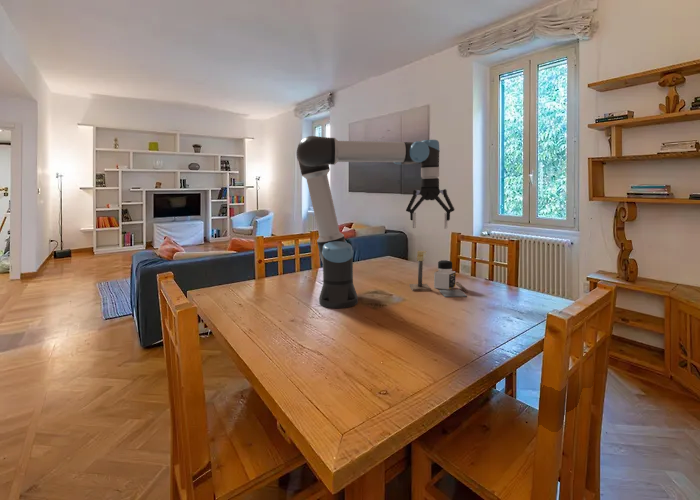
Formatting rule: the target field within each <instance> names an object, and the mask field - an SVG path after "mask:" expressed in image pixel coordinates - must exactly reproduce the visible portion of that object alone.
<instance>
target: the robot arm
mask: <svg viewBox="0 0 700 500" xmlns="http://www.w3.org/2000/svg"><path fill="white" fill-rule="evenodd" d="M440 150H441V149H440V142H439V140H437V139H424V140H423V139H422V140H421V141H419V140H418V141H417V140H416V141H405V142H404V141H374V140H373V141H369V140H368V141H367V140H366V141H364V140H338V139H337V138H336V137H324V136H317V135H309V136H306V137H304V138H302V139H301V140H300V141H299V143H298V144H297V148H296V159H297V162H298V165H299V169H300V174H301V176H302V177H303V178H305V179H306V183H307V187H308V191H309V192H308V193H309V196H310V200H311V206H312V209H313V213H314V219H315V223H316V227H317V231H318V235H319V236H318V238H317V239H316V242H317V248H318V252H319V255H318V256H319V259H320V261H321V263H322V281H323V282H322V286H321V290H320V293H319V298H318V299H319V303H318V304H319V305H320V306H322V307H324V308H330V309H344V308H345V309H346V308H350V307H354V306H355V305H357V304H358V294H357V290H356V288H355V286H354V260H353V259H354V258H353V257H354V250H353V246H352V244H350V243H349V242H346V239H345V234H343V233H342V232H340V227H339V222H338V218H337V214H336V209H335V205H334V200H333V196H332V191H331V186H330V182H329V177H328V174H329V172H330V171H331V168H330V165H332V166H333V165H334V166H335V165H336V164H337V163H393V164H394V165H401V166H402V165H416V164H417V165H420V178H421V179H420V190H419V189H414V190H413V192H412V196H411V199H410V201H409V203H408V205H407V207H406V209H405V211H406V212H408V213H410V216H409V217H410V219H409V220H411V221H412V229H415V228H416V227H417V226H416V225H417V222H416V221H417V217H416V216H417V214H416V210H417V209H418V208H419V207H420V205H421V204H422V203H423V202H424V201H436V202H437V203H438V204H439V205H440V206H441V208H442V209H443V210H444V211H445V213H444V230H447V229H448V222H449V221H450V220H451V213H452V212H454V211H455V209H456V208H455V206H454V205H453V204H452V201H451V198H450V197H449V195H448V189H446V188H443V189H440V179H439V177H440ZM440 193H441V195H442V196H443V197H444V199H445V201H446V203H447V205H448V206H447V205H446V203H444V202H443V201H442V199H441V198H440V196H439V195H440ZM418 195H421V197H420V199H419V200H418V201H417V202H416V203H415V201H416V199H417V196H418ZM414 203H415V204H414ZM413 204H414V206H413Z"/></svg>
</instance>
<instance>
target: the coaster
mask: <svg viewBox="0 0 700 500" xmlns="http://www.w3.org/2000/svg"><path fill="white" fill-rule="evenodd" d="M439 292H440V294H441V295H442V296H443V297H445V298H467V297H468V295H467V294H466V292H464V291H463V290H462V289H450V290H447V289H439Z"/></svg>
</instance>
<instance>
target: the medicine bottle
mask: <svg viewBox="0 0 700 500" xmlns="http://www.w3.org/2000/svg"><path fill="white" fill-rule="evenodd" d="M456 273H457V271H454V270H453V261H451V260H448V259H447V260H445V259H443V260H439V261H438V262H437V271H434V273H433V275H434V276H433V277H434V278H433V288H434V289H439V290H453V289H454V288H455V287H456V275H457V274H456Z"/></svg>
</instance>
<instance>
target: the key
mask: <svg viewBox="0 0 700 500" xmlns="http://www.w3.org/2000/svg"><path fill="white" fill-rule="evenodd" d="M416 256H417V257H416V261H417V262H418V261H423V262H424V260H425V257H427V251H426V250H417V253H416Z"/></svg>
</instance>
